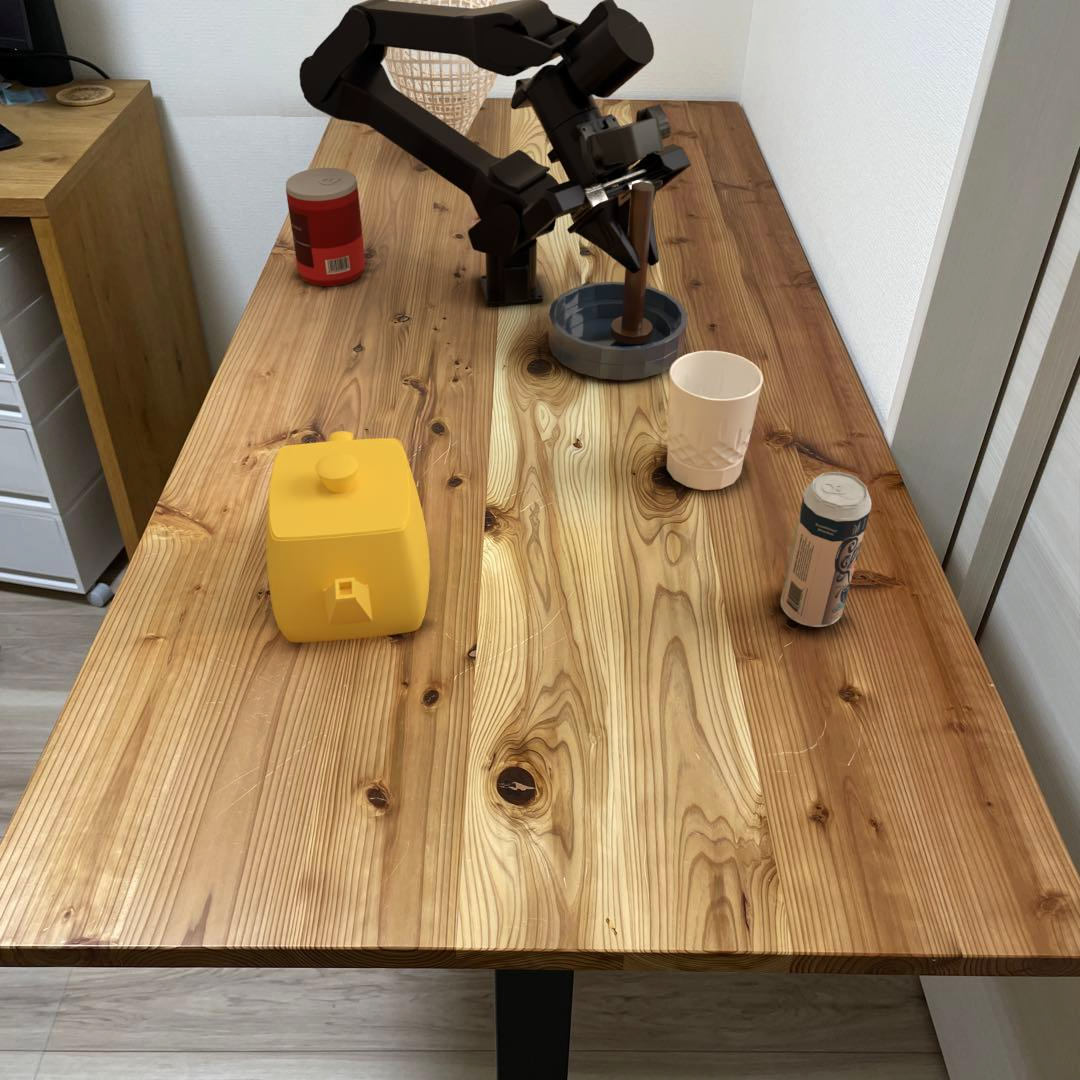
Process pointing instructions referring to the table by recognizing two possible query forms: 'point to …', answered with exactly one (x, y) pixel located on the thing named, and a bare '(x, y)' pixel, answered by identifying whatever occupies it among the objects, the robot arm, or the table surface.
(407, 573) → the teapot
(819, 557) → the beer can
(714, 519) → the table surface
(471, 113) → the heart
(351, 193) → the canned food
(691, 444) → the white cup
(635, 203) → the stirring stick
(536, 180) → the robot arm
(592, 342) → the bowl
